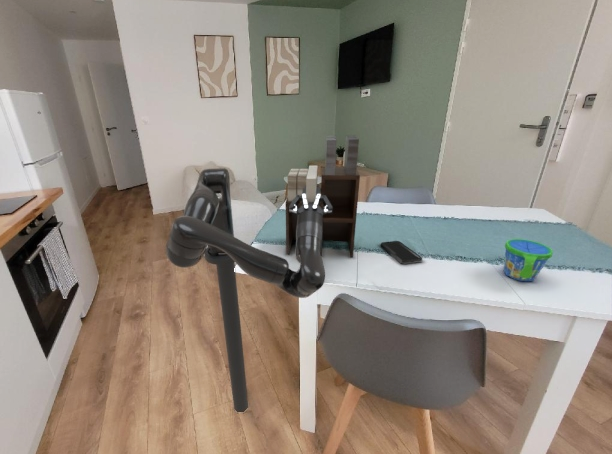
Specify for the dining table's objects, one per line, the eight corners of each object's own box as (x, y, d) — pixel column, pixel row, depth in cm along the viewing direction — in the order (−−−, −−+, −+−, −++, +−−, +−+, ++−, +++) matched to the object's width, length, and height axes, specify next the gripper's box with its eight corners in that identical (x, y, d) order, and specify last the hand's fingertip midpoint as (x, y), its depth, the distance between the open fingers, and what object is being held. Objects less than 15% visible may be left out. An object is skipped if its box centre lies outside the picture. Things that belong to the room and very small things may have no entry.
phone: (398, 240, 112) (423, 259, 98) (398, 243, 113) (423, 261, 99) (379, 242, 111) (402, 261, 98) (379, 245, 112) (401, 264, 98)
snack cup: (541, 294, 81) (554, 262, 77) (494, 281, 87) (504, 251, 83) (541, 270, 91) (552, 241, 87) (499, 260, 98) (508, 233, 94)
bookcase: (352, 257, 104) (363, 139, 88) (286, 254, 108) (284, 141, 92) (349, 241, 116) (358, 134, 101) (290, 238, 121) (289, 136, 105)
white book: (315, 206, 90) (316, 178, 87) (305, 206, 91) (306, 178, 88) (316, 189, 109) (317, 165, 105) (308, 189, 109) (309, 165, 106)
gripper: (286, 236, 89) (291, 195, 99) (333, 238, 86) (333, 195, 96) (284, 221, 83) (289, 179, 93) (334, 222, 80) (334, 179, 90)
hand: (311, 187), depth 95 cm, fingers closed on white book, 3 cm apart
